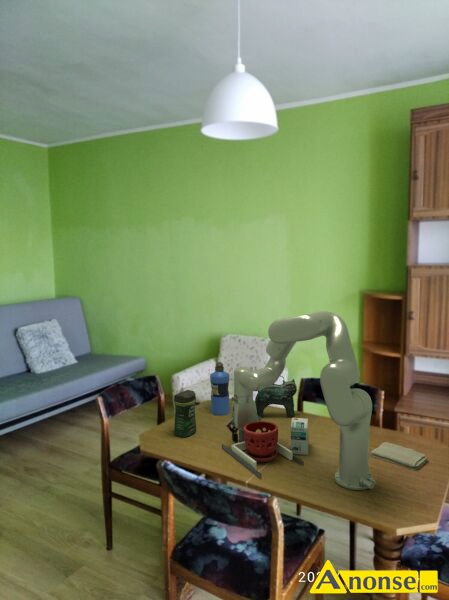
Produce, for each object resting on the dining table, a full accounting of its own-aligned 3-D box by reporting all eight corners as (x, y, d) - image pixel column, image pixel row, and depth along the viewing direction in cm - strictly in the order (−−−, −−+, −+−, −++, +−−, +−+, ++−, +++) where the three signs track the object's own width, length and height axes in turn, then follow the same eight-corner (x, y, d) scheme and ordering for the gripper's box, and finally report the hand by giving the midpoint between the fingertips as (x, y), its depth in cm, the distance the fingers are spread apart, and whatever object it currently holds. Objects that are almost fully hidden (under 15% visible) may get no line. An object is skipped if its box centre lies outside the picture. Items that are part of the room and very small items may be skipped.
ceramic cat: (296, 414, 212) (296, 373, 210) (298, 419, 205) (298, 377, 203) (254, 414, 212) (254, 374, 210) (255, 419, 206) (255, 377, 204)
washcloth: (416, 473, 155) (416, 464, 154) (368, 457, 167) (368, 449, 167) (429, 461, 163) (429, 453, 163) (382, 447, 176) (382, 439, 175)
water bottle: (221, 407, 222) (220, 359, 220) (233, 412, 215) (233, 362, 213) (206, 412, 216) (206, 362, 214) (218, 417, 209) (218, 365, 207)
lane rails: (303, 465, 160) (303, 461, 160) (260, 478, 151) (260, 474, 151) (261, 438, 184) (261, 434, 184) (221, 448, 175) (221, 444, 175)
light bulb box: (308, 455, 168) (308, 428, 167) (290, 454, 170) (290, 427, 168) (308, 443, 179) (308, 418, 178) (291, 442, 180) (291, 417, 179)
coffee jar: (186, 439, 185) (185, 396, 183) (171, 435, 189) (170, 393, 187) (199, 431, 193) (198, 390, 191) (185, 427, 197) (184, 387, 195)
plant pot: (280, 451, 172) (280, 421, 171) (275, 466, 160) (275, 434, 158) (248, 447, 176) (247, 418, 175) (240, 462, 163) (240, 431, 162)
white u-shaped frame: (292, 459, 164) (292, 444, 164) (254, 470, 156) (254, 454, 156) (259, 438, 184) (259, 424, 183) (223, 446, 176) (223, 432, 175)
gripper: (229, 404, 169) (229, 448, 171) (266, 397, 178) (267, 439, 179) (220, 399, 176) (220, 441, 178) (256, 392, 184) (257, 432, 186)
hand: (244, 439), depth 178 cm, fingers open, 7 cm apart
